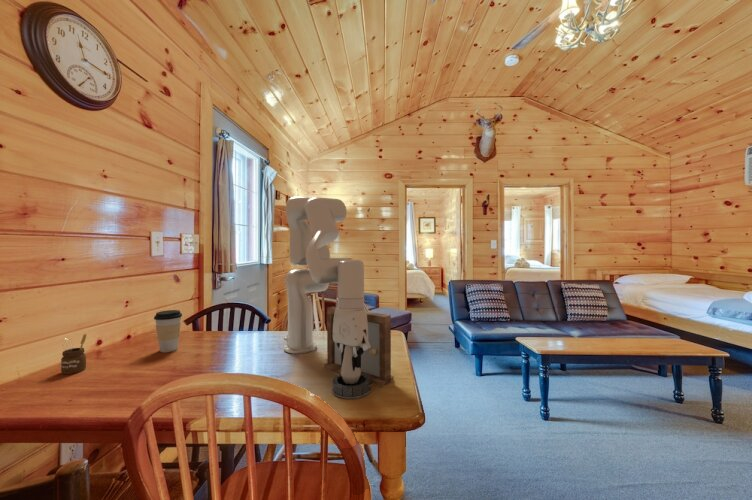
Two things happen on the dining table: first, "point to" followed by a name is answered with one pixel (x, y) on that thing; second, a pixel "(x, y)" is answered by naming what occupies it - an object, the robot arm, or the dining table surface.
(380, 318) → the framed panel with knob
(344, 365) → the salt shaker
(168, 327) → the coffee cup
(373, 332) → the door
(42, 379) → the dining table surface
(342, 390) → the socket
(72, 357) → the utensil holder
